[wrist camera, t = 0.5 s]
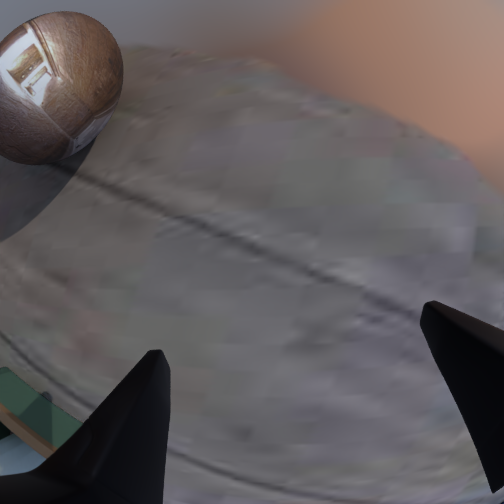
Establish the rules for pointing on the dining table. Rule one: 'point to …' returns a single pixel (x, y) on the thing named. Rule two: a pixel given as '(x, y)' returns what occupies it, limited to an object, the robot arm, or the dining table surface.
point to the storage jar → (17, 456)
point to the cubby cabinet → (32, 416)
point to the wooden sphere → (56, 86)
